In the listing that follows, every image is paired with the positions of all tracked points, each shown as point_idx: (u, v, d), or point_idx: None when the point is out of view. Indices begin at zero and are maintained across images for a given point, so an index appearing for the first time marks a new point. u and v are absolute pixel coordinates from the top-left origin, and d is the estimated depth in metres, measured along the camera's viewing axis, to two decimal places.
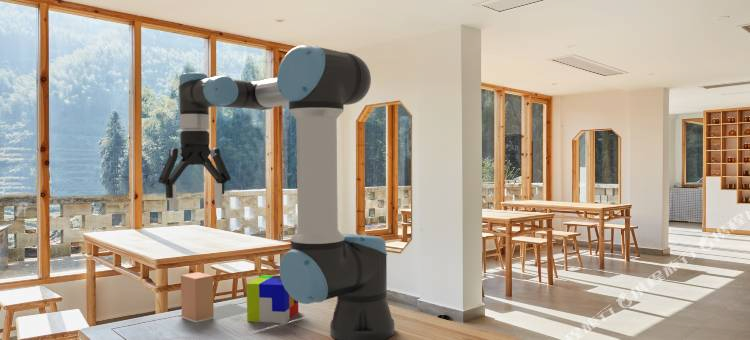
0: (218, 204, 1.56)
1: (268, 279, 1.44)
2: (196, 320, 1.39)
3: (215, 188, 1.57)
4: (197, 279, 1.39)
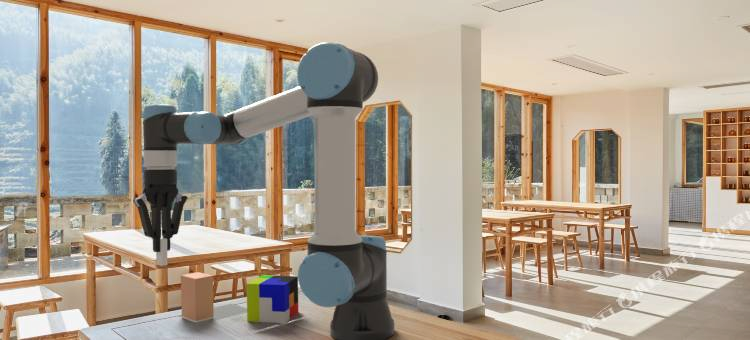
0: None
1: (268, 279, 1.44)
2: (196, 320, 1.39)
3: None
4: (197, 279, 1.39)
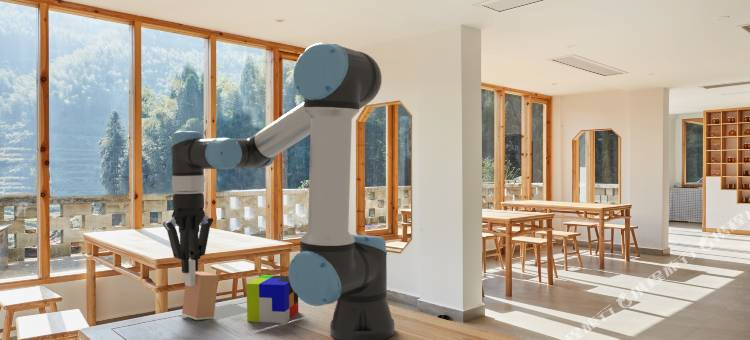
0: None
1: (268, 279, 1.44)
2: (196, 317, 1.39)
3: None
4: (203, 276, 1.40)
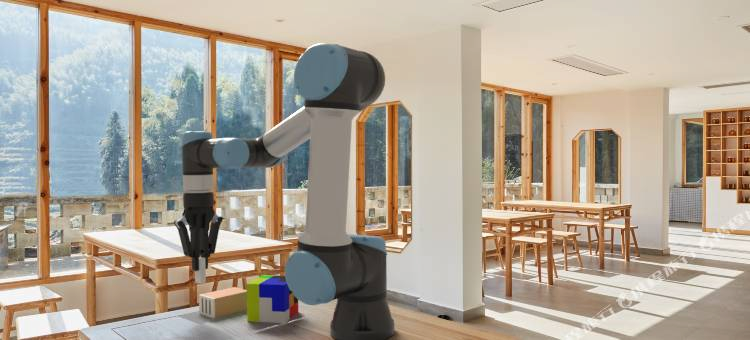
0: None
1: (268, 279, 1.44)
2: (214, 299, 1.43)
3: None
4: None
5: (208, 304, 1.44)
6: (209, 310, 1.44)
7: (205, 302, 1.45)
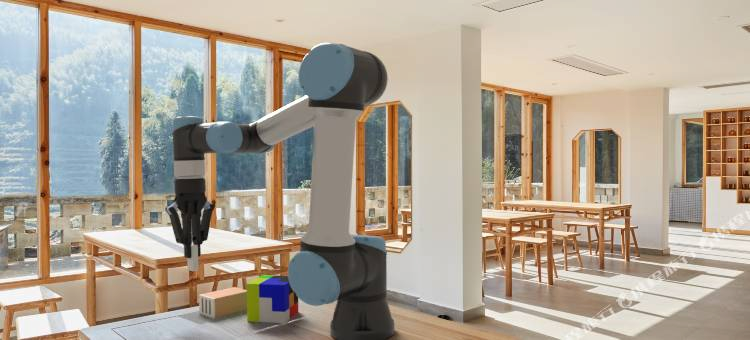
0: None
1: (268, 279, 1.44)
2: (214, 299, 1.43)
3: None
4: None
5: (208, 304, 1.44)
6: (209, 310, 1.44)
7: (205, 302, 1.45)
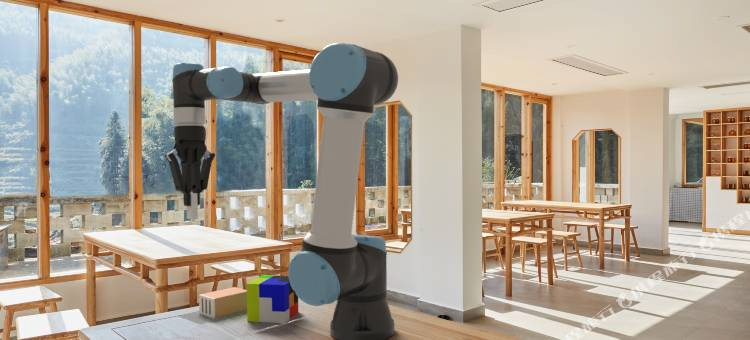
0: None
1: (268, 279, 1.44)
2: (214, 299, 1.43)
3: None
4: None
5: (208, 304, 1.44)
6: (209, 310, 1.44)
7: (205, 302, 1.45)
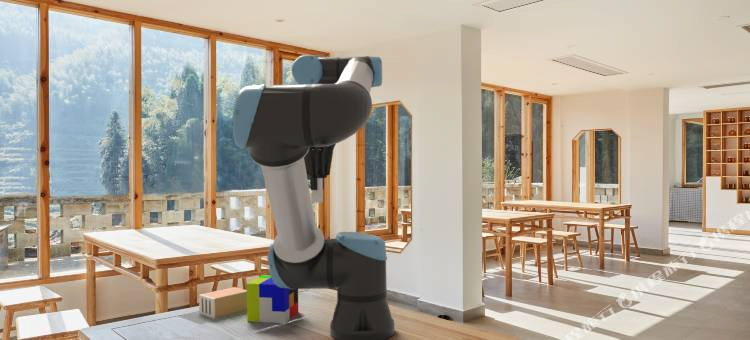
0: None
1: (268, 279, 1.44)
2: (214, 299, 1.43)
3: None
4: None
5: (208, 304, 1.44)
6: (209, 310, 1.44)
7: (205, 302, 1.45)
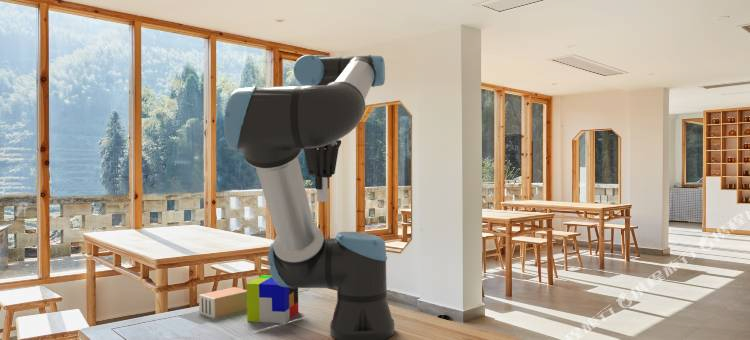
0: None
1: (268, 279, 1.44)
2: (214, 299, 1.43)
3: None
4: None
5: (208, 304, 1.44)
6: (209, 310, 1.44)
7: (205, 302, 1.45)
